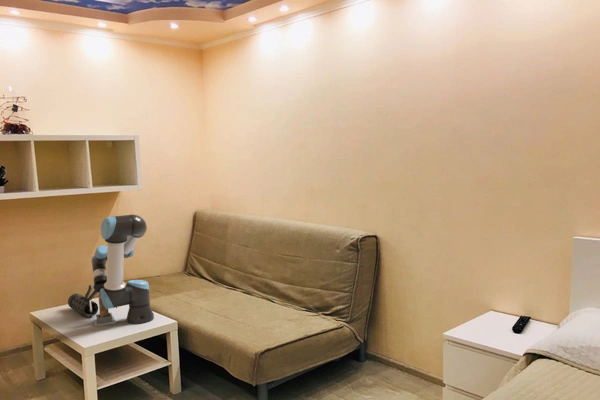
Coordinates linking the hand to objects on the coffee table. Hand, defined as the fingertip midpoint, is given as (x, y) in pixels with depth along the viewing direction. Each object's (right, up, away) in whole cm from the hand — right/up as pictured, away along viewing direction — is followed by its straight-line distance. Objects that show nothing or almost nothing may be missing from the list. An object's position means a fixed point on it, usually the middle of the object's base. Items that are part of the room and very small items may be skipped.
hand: (104, 309), depth 283 cm
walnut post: (-1, -7, +3) cm, 8 cm away
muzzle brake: (-22, -8, +22) cm, 32 cm away
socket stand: (-1, -8, +3) cm, 9 cm away
